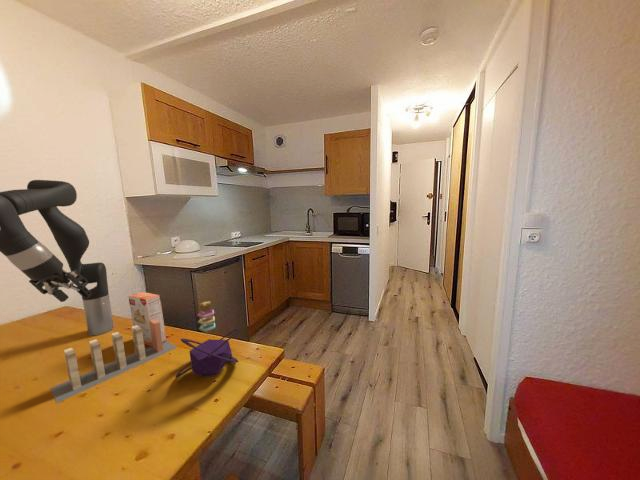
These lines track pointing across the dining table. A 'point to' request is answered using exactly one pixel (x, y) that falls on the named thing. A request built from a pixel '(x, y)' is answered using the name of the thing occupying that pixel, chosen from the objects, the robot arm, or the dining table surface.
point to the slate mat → (106, 373)
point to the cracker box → (146, 314)
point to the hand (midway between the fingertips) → (77, 298)
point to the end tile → (156, 335)
